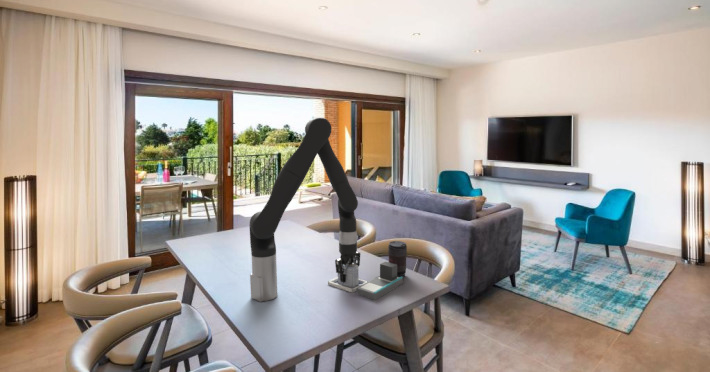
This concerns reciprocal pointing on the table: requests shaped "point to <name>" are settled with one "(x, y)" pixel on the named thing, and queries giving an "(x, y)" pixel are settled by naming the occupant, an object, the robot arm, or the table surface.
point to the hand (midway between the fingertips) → (348, 279)
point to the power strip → (381, 282)
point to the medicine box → (350, 276)
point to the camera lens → (398, 256)
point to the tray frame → (344, 286)
